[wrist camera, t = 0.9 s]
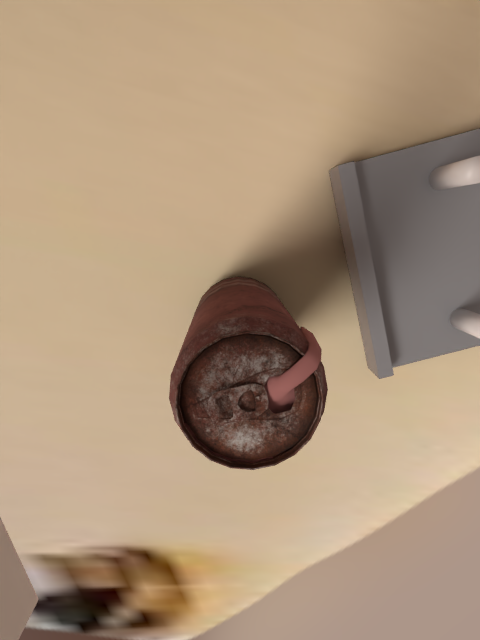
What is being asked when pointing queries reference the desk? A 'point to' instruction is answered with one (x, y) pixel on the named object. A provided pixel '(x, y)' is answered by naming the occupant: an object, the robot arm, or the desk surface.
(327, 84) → the desk surface
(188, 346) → the can
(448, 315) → the tray
